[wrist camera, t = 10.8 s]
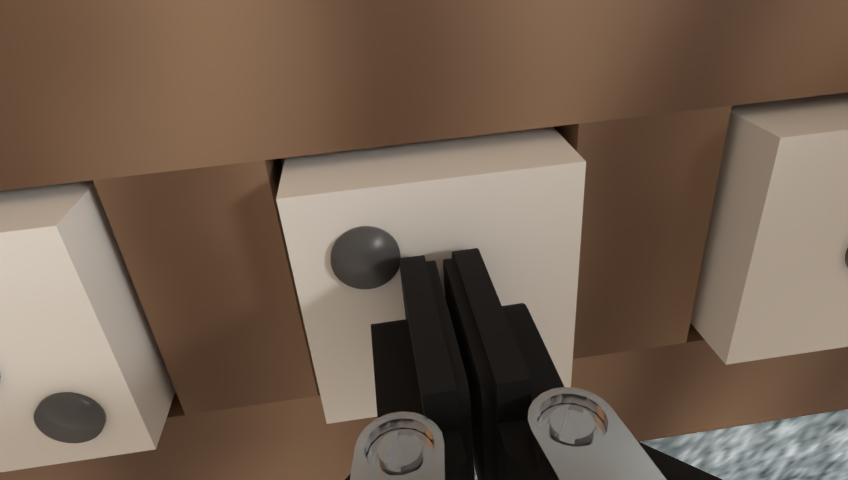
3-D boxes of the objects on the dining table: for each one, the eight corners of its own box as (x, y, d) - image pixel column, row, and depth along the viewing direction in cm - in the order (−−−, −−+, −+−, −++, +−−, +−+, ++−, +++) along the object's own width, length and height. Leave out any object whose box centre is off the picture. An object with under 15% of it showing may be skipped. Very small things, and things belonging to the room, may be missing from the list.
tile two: (540, 114, 14) (588, 164, 11) (535, 314, 17) (572, 392, 14) (288, 143, 14) (275, 202, 11) (329, 343, 17) (326, 428, 14)
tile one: (929, 69, 15) (1063, 106, 12) (859, 269, 18) (952, 335, 15) (700, 95, 14) (785, 140, 12) (668, 296, 17) (729, 369, 15)
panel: (1022, -123, 14) (1176, -128, 11) (851, 336, 21) (922, 397, 18) (-341, 2, 12) (-530, 29, 9) (-24, 465, 19) (-81, 553, 16)
